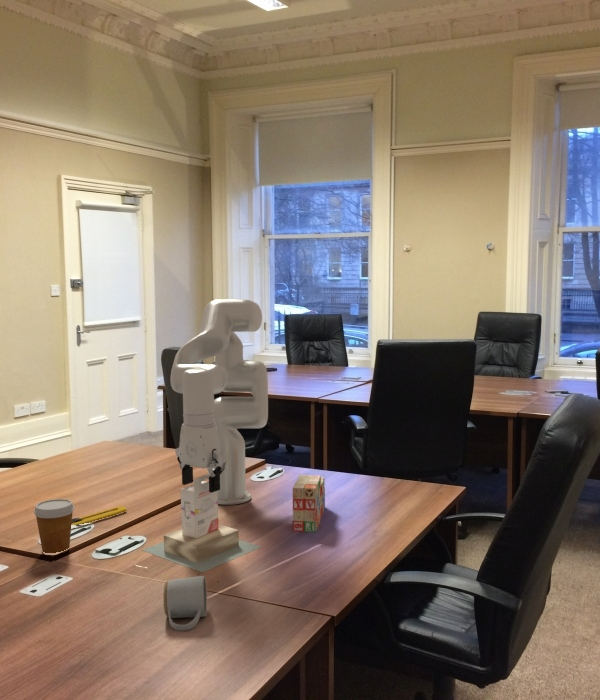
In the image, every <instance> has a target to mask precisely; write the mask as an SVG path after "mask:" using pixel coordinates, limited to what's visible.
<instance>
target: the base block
mask: <svg viewBox="0 0 600 700" xmlns="http://www.w3.org/2000/svg"><path fill="white" fill-rule="evenodd" d="M218 525H219V528H218V529H216V530H214V531H212V532H210V533H207V534H205V535H203V536H201V537H198V538H192V537H189V536H185V535H182V528H180V529H177V530H174V531H172V532H168V533H166V534H163V542H164V551H165V552H168V553H171V554H174V555H177V556H179V557H182V558H185V559H188V560H191V561H193V562H196V563H198V562H201V561H203V560H206V559H208V558H210V557H213V556H215V555H218V554H220V553H222V552H225V551H227V550H230V549H232V548H234V547H237V546H239V540H240V537H239V536H240V534H239V533H240V530H239V529H236V528H232V527H229V526H227V525H222V524H220V523H218Z"/></svg>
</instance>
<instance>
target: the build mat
mask: <svg viewBox="0 0 600 700" xmlns="http://www.w3.org/2000/svg"><path fill="white" fill-rule="evenodd" d="M260 548H262V546H261V545H257V544H254V543H251V542H249V541H244V540H241V539H239V546H237V547H234V548H232V549H230V550H227V551H225V552H222V553H220V554H218V555H215V556H213V557H210V558H208V559H206V560H203V561H201V562H198V563H196V562H193V561H191V560H188V559H185V558H182V557H179V556H177V555H174V554H171V553H168V552H165V551H164V541H162V542H159V543H156V544H154V545H151V546H148V547H146V548H143V549H141V551H144V552H146V553H148V554H151V555H154V556H155V557H156V556H157V557H159V558H162V559H164V560H167V561H170V562H173V563H175V564H178V565H181V566H184V567H187V568H189V569H191V570H194V571H198V572H199V573H204V572H207V571H210V570H212V569H213V568H217V567H218V566H222V565H223V564H226V563H228V562H229V561H232V560H235V559H237V558H239V557H242V556H243V555H246V554H249V553H250V552H254V551H255V550H258V549H260Z"/></svg>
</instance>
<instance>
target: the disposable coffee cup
mask: <svg viewBox="0 0 600 700" xmlns="http://www.w3.org/2000/svg"><path fill="white" fill-rule="evenodd" d="M74 510H75V505H74V504H73V501H72V500H70V499H67V498H53V499H48V500H44V501H40V502H38V503H36V504H35V507H34V510H33V514H34V516H35V518H36V522H37V528H38V534H39V539H40V545H41V551H43V552H45V553H56V552H61V551H64V550H66V549H68V548H69V549H70V546H71V544H70V543H71V534H72V529H71V525H72V519H73V512H74ZM43 552H42V553H43Z"/></svg>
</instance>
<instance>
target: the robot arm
mask: <svg viewBox="0 0 600 700" xmlns="http://www.w3.org/2000/svg"><path fill="white" fill-rule="evenodd" d="M262 313H263V312H262V310H261V307H260V305H259V304H258V303H257V302H254V301H253V300H250V299H244V298H243V299H241V298H240V299H239V298H237V299H236V298H235V299H225V298H224V299H213V300H210V301H209V302H208V303H207V304H206V305H205V307H204V308H203V313H202V318H201V322H200V326H199V331H198V334H197V335H196V336H195V337H193V338H191V339H190V340H188V341H187V342H185V343H184V344H183V346H181V347H180V348H179V350H178V351H177V352H176V354H175V356H174V359H173V363H172V367H171V371H170V380H169V381H170V387H171V389H172V390H173V391H174V392H175V393H178V394H182V408H183V409H182V410H183V412H182V417H183V423H182V424H181V427H180V433H179V445H178V447H177V448H175V449H174V451H175V454H176V458H177V459H176V460H177V462H178V464H179V468H180V469H181V484H182V485H183V486H185V485H189V484H192V483H194V482H193V480H194V468H198V469H203V470H204V469H207V471H208V474H210V475H211V476H209V479H208V481H209V492H211V493H212V492H215V491H218V505H238V504H244V503H246V502H248V501H250V500H251V497H252V494H251V493H250V492H249V491H248V490H246V487H247V486H246V484H247V483H246V482H247V481H246V443H245V442H246V441H245V440H244V437H243V436H242V434H241V433H240V431H238V429H262V428H264V427H265V426H266V425H267V423H268V419H269V390H268V389H269V376H268V370H267V369H268V368H267V367H266V365H265V363H264V362H262V361H258V360H244V346H243V342H242V340H241V339H240V338H239V336H238V334H236V333H238V332H241V333H245V332H247V333H249V332H250V333H251V332H252V333H253V332H257V331H259V329H260V328H261V325H262V322H263V314H262ZM235 332H236V333H235ZM213 357H214V363H198V362H200V361H203V360H206V359H209V358H213ZM222 392H224V393H250V394H251V395H252V396H219V397H216V398H215V395H218V394H220V393H222Z"/></svg>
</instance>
